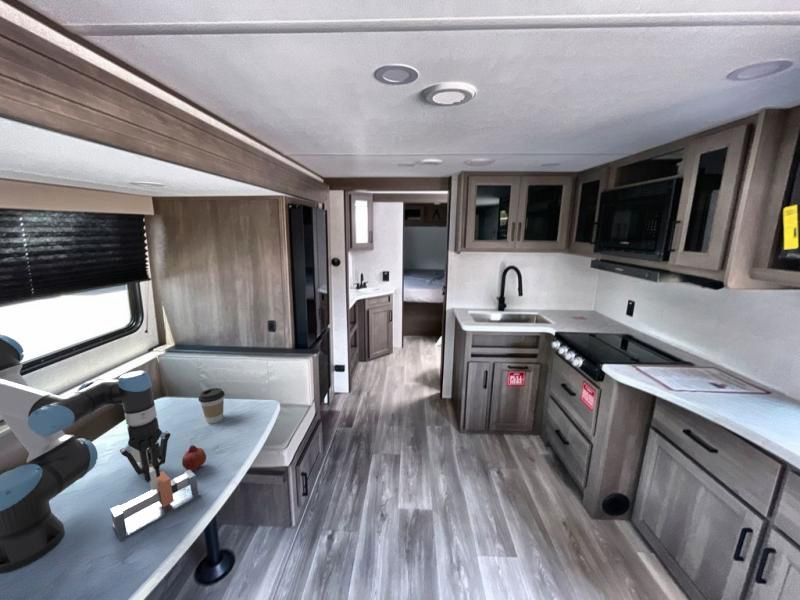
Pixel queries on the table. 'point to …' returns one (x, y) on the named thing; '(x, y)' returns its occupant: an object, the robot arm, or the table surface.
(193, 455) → the fruit
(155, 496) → the grey rail frame
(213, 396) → the coffee cup
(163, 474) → the terracotta rectangular block
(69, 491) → the table surface
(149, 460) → the pneumatic valve
